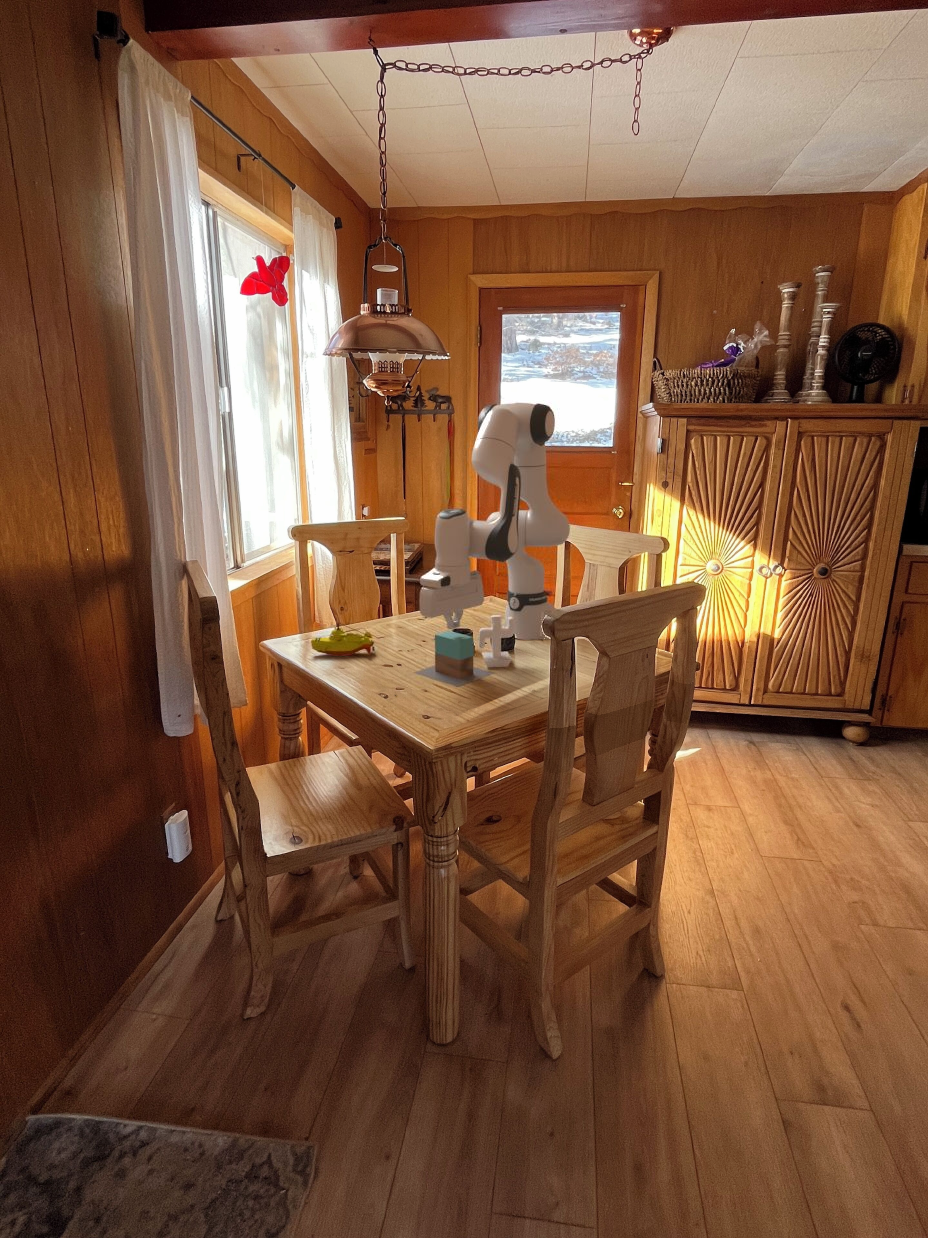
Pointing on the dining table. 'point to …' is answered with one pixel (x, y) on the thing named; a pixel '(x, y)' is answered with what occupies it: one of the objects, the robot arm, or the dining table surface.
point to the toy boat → (343, 642)
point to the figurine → (496, 641)
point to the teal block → (454, 645)
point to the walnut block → (454, 666)
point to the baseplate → (454, 681)
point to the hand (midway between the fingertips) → (453, 628)
